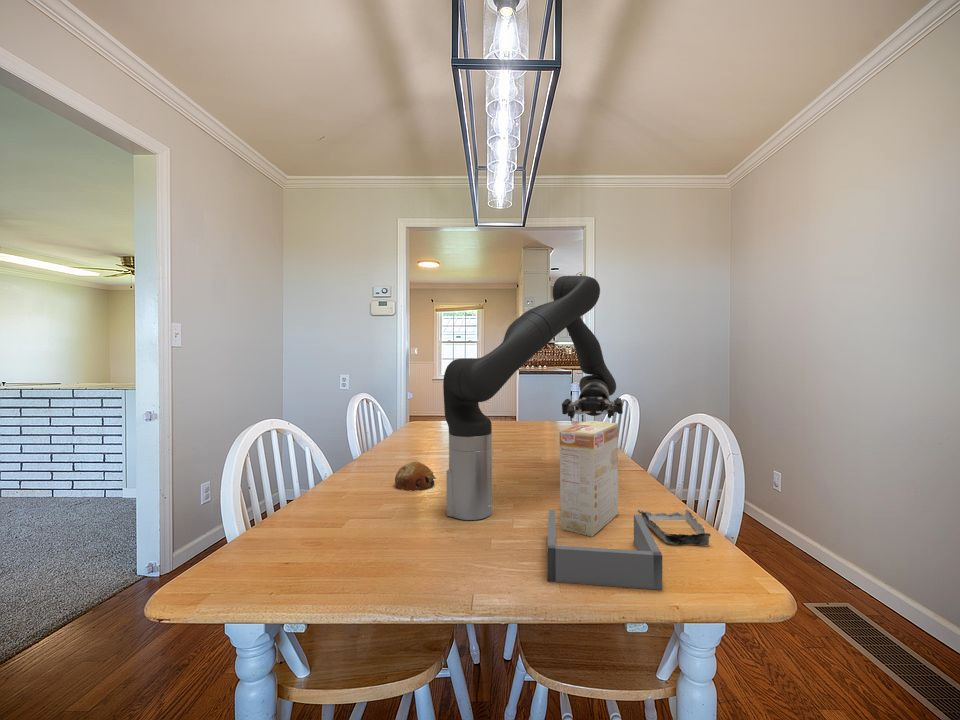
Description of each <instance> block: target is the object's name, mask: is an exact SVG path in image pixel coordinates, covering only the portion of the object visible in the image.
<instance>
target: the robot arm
mask: <svg viewBox="0 0 960 720" xmlns="http://www.w3.org/2000/svg"><path fill="white" fill-rule="evenodd" d="M600 295H601V288H600V284H599V282H598V280H596V279H595V278H594V277H591V276H588V275H563V276H560V277H558V278H557V279H556V280H555V282H554V283H553V286H552V299H553V300H552V301H549V302H546V303H543V304H539V305H538V306H535V307H533V308H529V310H527V311H526V312H524V313H522V314H521V315H520V316H519V317H518V318H516V319H514V320H513V322H512V323H511V324H510V325H509V326H508V327H507V329H506V331H505V334H504V337H503V340H502V342H501V343H500V344H499V345H498V346H497V347H496V348H494V349H493V350H492V351H490V352H489V353H487V354H486V355H484V356H481V357H477V358H473V357H471V358H470V357H469V358H466V357H465V358H456V359H454V360H452V361H451V362H450V363H449V364H448V365H447V366H446V368H445V371H444V374H443V381H442V383H443V384H442V385H443V386H442V390H443V391H442V393H443V406H444V407H443V408H444V417H445V421H446V423H447V426H448V469H447V470H446V475H445V476H446V517H452V518H454V519H458V520H464V521H472V520H473V521H476V520H482V519H486V518H488V517H490V516H491V515H492V513H493V447H492V444H493V441H492V437H493V436H492V430H493V429H492V427H493V426H492V421H491V419H490V418H489V417H487V415H485V414H484V413H483V412H482V410H481V408H480V404H479V403H483V402H484V403H485V402H487V401H489V400H490V399H492V398H493V397H494V396H495V395H496V394H498V392H499V391H500V390H501V389H502V387H504V385H506V383H507V382H508V381H509V380H510V379H511V377H512V376H513V375H514V374H515V373H516V372H517V371H518V370H519V369H521V367H523V365H525V364H526V363H527V362H528V361H529V360H530V359H531V358H533V356H535V355H536V354H537V353H539V352H540V351H541V350H542V349H543V348H545V347H546V346H547V345H548V344H549V343H550V342H551V341H552V340H553V339H554V338H555V337H557V335H559V334H560V333H561V332H562V331H563V330H565V329H566V330H567V333H568V335H569V338H570V339H571V341H572V344H573V347H574V350H575V353H576V357H577V362H578V363H579V368H580V370H581V371H582V373H583V374H585V376H582V377H581V378H580V380H579V391H580V394H579V397H578V399H576V400H574V401H572V400H571V399H569V398H566V399H564V400H563V402H562V403H561V412H562V413H561V414H562V415H567V417H569V418H570V419H574V418H575V415H584V414H585V415H588V416H589V417H597V416H600V415H602V414H603V415H607V418H608V419H611V418H612V417H615V414H616V413H617V414H618V415H621V414H623V401H622V398H620V397H617V398H615V399H613V401H611V400H610V396H612V395H614V394H615V392H616V390H617V382H616V380H615V378H614V377H613V376H614V375H613V374H612V373H611V371H610V370H609V369H608V367H607V364H606V363H605V360H604V355H603V351H602V347H601V345H600V342H599V339H598V338H597V337H596V335H595V334H594V333H593V331H591V329H590V328H589V327H588V325H587V324H586V323H585V322H584V320H583V318H582V316H584V315H586V314H587V313H588V312H589V311H591V310H592V309H593V308H594V307H595V305H596V304H597V302H598V301H599V298H600Z"/></svg>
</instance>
